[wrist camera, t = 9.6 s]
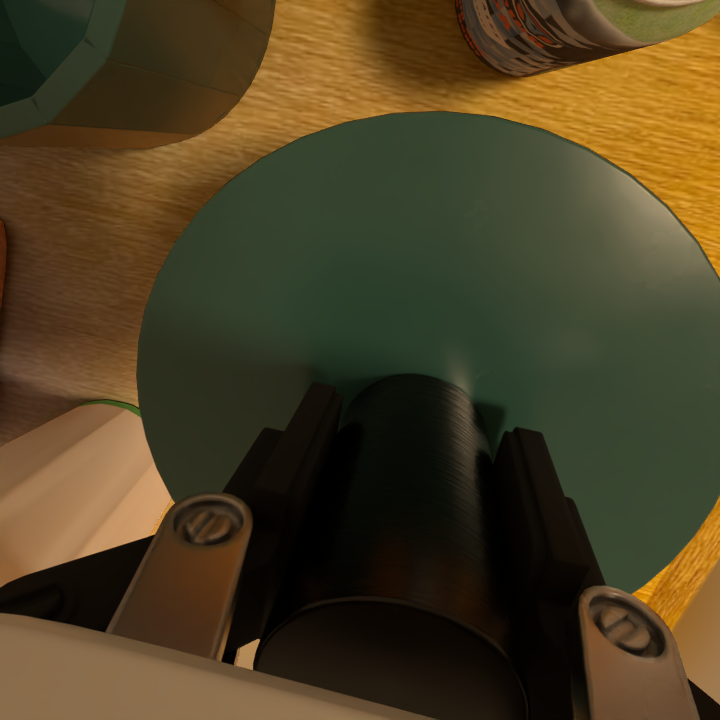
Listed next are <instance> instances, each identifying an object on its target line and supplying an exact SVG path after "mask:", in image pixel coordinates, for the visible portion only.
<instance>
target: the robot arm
mask: <svg viewBox="0 0 720 720" xmlns="http://www.w3.org/2000/svg"><path fill="white" fill-rule="evenodd" d="M343 398H344V394H340V393H336V386H332V385H327V384H323V383H318V382H314V381H313V382H312V383H311V385H310V387H309V389H308V390H307V392H306V394H305V396H304V397H303V399H302V401H301V403H300V405H299V406H298V408H297V410H296V412H295V413H294V415H293V417H292V419H291V420H290V422H289V424H288V426H287V427H286V429H285V431H281V430H276V429H272V428H268V427H265V428H264V429H263V430H262V431H261V433H260V434H259V436H258V437H257V439H256V440H255V442H254V443H253V445H252V446H251V448H250V449H249V451H248V453H247V454H246V456H245V457H244V459H243V460H242V462H241V463H240V465H239V466H238V468H237V470H236V471H235V473H234V474H233V476H232V477H231V479H230V480H229V482H228V483H227V485H226V486H225V488H224V490H223V491H222V492H203V493H197V494H193V495H190V496H188V497H185V498H183V499H181V500H180V501H178V502H177V503H175V504H174V505H173V506H172V507H171V508H170V509H169V511H168V512H167V513H166V515H165V516H164V518H163V520H162V522H161V524H160V526H159V528H158V530H157V532H156V534H155V535H152V536H149V537H146V538H142V539H139V540H136V541H133V542H130V543H126V544H123V545H120V546H117V547H114V548H111V549H107V550H104V551H101V552H98V553H95V554H91V555H88V556H85V557H82V558H79V559H75V560H72V561H69V562H66V563H63V564H59V565H56V566H53V567H50V568H47V569H44V570H40V571H37V572H34V573H31V574H28V575H25V576H22V577H20V578H18V579H15V580H13V581H10V582H8V583H6V584H5V585H3V586H2V587H0V720H438V719H434V718H430V717H426V716H423V715H419V714H415V713H412V712H408V711H404V710H400V709H397V708H393V707H389V706H386V705H382V704H378V703H374V702H371V701H367V700H363V699H359V698H356V697H352V696H348V695H344V694H341V693H337V692H333V691H330V690H326V689H322V688H318V687H314V686H311V685H307V684H303V683H299V682H295V681H292V680H288V679H284V678H280V677H276V676H273V675H269V674H265V673H261V672H257V671H254V670H250V669H246V668H242V667H238V666H236V665H237V661H238V657H239V650H240V647H242V646H244V645H246V644H248V643H250V642H252V641H254V640H256V639H261V637H262V634H263V631H264V629H265V626H266V623H267V621H268V618H269V615H270V613H271V610H272V607H273V605H274V602H275V599H276V596H277V594H278V591H279V588H280V586H281V583H282V580H283V578H284V575H285V572H286V570H287V567H288V564H289V562H290V559H291V557H292V554H293V552H294V549H295V546H296V544H297V541H298V538H299V536H300V533H301V530H302V527H303V525H304V522H305V519H306V517H307V514H308V511H309V509H310V506H311V503H312V501H313V498H314V495H315V493H316V490H317V487H318V485H319V482H320V479H321V477H322V474H323V471H324V468H325V466H326V463H327V460H328V458H329V455H330V452H331V450H332V447H333V444H334V442H335V439H336V436H337V432H338V427H339V421H340V415H341V410H342V404H343ZM492 466H493V472H494V478H495V484H496V491H497V497H498V503H499V509H500V515H501V522H502V528H503V534H504V540H505V546H506V553H507V559H508V565H509V571H510V578H511V584H512V590H513V596H514V602H515V609H516V615H517V621H518V627H519V633H520V640H521V646H522V652H523V658H524V664H525V671H526V677H527V683H528V689H529V696H530V708H531V713H530V720H720V705H719V704H718V703H717V702H715V701H714V700H713V699H712V698H711V697H710V696H708V695H707V694H706V693H705V692H704V691H702V690H701V689H700V688H699V687H698V686H696V685H695V684H694V683H693V682H691V681H690V680H689V679H688V678H687V676H686V673H685V670H684V667H683V664H682V660H681V658H680V654H679V651H678V648H677V644H676V641H675V639H674V637H673V635H672V633H671V631H670V629H669V627H668V626H667V625H666V624H665V622H664V621H663V620H662V619H661V617H660V616H659V615H658V614H657V613H656V612H655V611H653V610H652V609H651V608H650V607H649V606H648V605H647V604H645V603H644V602H642V601H641V600H639V599H638V598H636V597H635V596H633V595H631V594H629V593H626V592H624V591H622V590H620V589H616V588H612V587H608V586H606V583H605V580H604V578H603V575H602V573H601V570H600V567H599V565H598V562H597V559H596V557H595V554H594V551H593V549H592V546H591V543H590V541H589V538H588V536H587V533H586V530H585V528H584V525H583V522H582V520H581V517H580V514H579V512H578V509H577V506H576V504H575V502H574V500H573V499H571V498H570V497H565V495H564V493H563V490H562V487H561V484H560V481H559V478H558V476H557V473H556V470H555V467H554V464H553V462H552V459H551V456H550V453H549V450H548V447H547V445H546V442H545V439H544V436H543V434H542V432H538V431H533V430H529V429H524V428H520V427H515V428H514V429H513V431H512V432H509V431H505V432H504V434H503V436H502V438H501V441H500V444H499V447H498V450H497V453H496V456H495V459H494V462H493V465H492Z"/></svg>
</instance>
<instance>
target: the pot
mask: <svg viewBox="0 0 720 720" xmlns="http://www.w3.org/2000/svg"><path fill="white" fill-rule="evenodd" d="M275 1H276V0H0V146H6V147H97V148H153V147H157V146H160V145H166V144H171V143H176V142H181V141H183V140H186V139H189V138H192V137H194V136H197V135H199V134H201V133H202V132H204V131H206V130H207V129H209V128H211V127H212V126H214V125H215V124H216V123H217V122H219V121H220V120H221V119H222V118H224V117H225V116H226V115H227V114H228V113H229V112H230V111H231V110H232V109H233V108H234V107H235V105H236V104H237V103H238V102H239V101H240V99H241V98H242V96H243V95H244V94H245V92H246V91H247V89H248V88H249V86H250V85H251V83H252V81H253V79H254V77H255V75H256V73H257V71H258V69H259V67H260V64H261V62H262V59H263V57H264V54H265V51H266V49H267V45H268V41H269V37H270V33H271V29H272V24H273V17H274V9H275Z"/></svg>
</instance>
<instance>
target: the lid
mask: <svg viewBox="0 0 720 720" xmlns="http://www.w3.org/2000/svg"><path fill="white" fill-rule="evenodd" d="M136 377H137V389H138V401H139V410H140V415H141V419H142V424H143V428H144V433H145V437H146V441H147V443H148V446H149V449H150V452H151V455H152V457H153V460H154V463H155V466H156V469H157V471H158V473H159V475H160V477H161V479H162V481H163V483H164V485H165V487H166V488H167V490H168V492H169V494H170V496H171V498H172V499H173V501H174V502H175V503H177V502H178V501H180V500H181V499H183V498H185V497H188V496H190V495H193V494H197V493H203V492H222V491H223V490H224V488H225V486H226V485H227V483H228V482H229V480H230V479H231V477H232V476H233V474H234V473H235V471H236V470H237V468H238V466H239V465H240V463H241V462H242V460H243V459H244V457H245V456H246V454H247V453H248V451H249V449H250V448H251V446H252V445H253V443H254V442H255V440H256V439H257V437H258V436H259V434H260V433H261V431H262V430H263V429H264V428H265V427H268V428H272V429H276V430H281V431H285V429H286V427H287V426H288V424H289V422H290V420H291V419H292V417H293V415H294V413H295V412H296V410H297V408H298V406H299V405H300V403H301V401H302V399H303V397H304V396H305V394H306V392H307V390H308V389H309V387H310V385H311V383H312V382H313V381H314V382H318V383H323V384H327V385H332V386H336V393H340V394H344V398H343V404H342V410H341V415H340V421H339V427H338V432H337V436H336V439H335V442H334V444H333V447H332V450H331V452H330V455H329V458H328V460H327V463H326V466H325V468H324V471H323V474H322V477H321V479H320V482H319V485H318V487H317V490H316V493H315V495H314V498H313V501H312V503H311V506H310V509H309V511H308V514H307V517H306V519H305V522H304V525H303V527H302V530H301V533H300V536H299V538H298V541H297V544H296V546H295V549H294V552H293V554H292V557H291V559H290V562H289V564H288V567H287V570H286V572H285V575H284V578H283V580H282V583H281V586H280V588H279V591H278V594H277V596H276V599H275V602H274V605H273V607H272V610H271V613H270V615H269V618H268V621H267V623H266V626H265V629H264V631H263V634H262V637H261V639H260V642H259V645H258V647H257V650H256V653H255V658H254V662H253V670H254V671H257V672H261V673H265V674H269V675H273V676H276V677H280V678H284V679H288V680H292V681H295V682H299V683H303V684H307V685H311V686H314V687H318V688H322V689H326V690H330V691H333V692H337V693H341V694H344V695H348V696H352V697H356V698H359V699H363V700H367V701H371V702H374V703H378V704H382V705H386V706H389V707H393V708H397V709H400V710H404V711H408V712H412V713H415V714H419V715H423V716H426V717H430V718H434V719H438V720H530V713H531V708H530V696H529V689H528V683H527V677H526V671H525V664H524V658H523V652H522V646H521V640H520V633H519V627H518V621H517V615H516V609H515V602H514V596H513V590H512V584H511V578H510V571H509V565H508V559H507V553H506V546H505V540H504V534H503V528H502V522H501V515H500V509H499V503H498V497H497V491H496V484H495V478H494V472H493V466H492V465H493V462H494V459H495V456H496V453H497V450H498V447H499V444H500V441H501V438H502V436H503V434H504V432H505V431H509V432H512V431H513V429H514V428H515V427H520V428H524V429H529V430H533V431H538V432H542V434H543V436H544V439H545V442H546V445H547V447H548V450H549V453H550V456H551V459H552V462H553V464H554V467H555V470H556V473H557V476H558V478H559V481H560V484H561V487H562V490H563V493H564V495H565V497H570V498H571V499H573V500H574V502H575V504H576V506H577V509H578V512H579V514H580V517H581V520H582V522H583V525H584V528H585V530H586V533H587V536H588V538H589V541H590V543H591V546H592V549H593V551H594V554H595V557H596V559H597V562H598V565H599V567H600V570H601V573H602V575H603V578H604V580H605V583H606V586H608V587H612V588H616V589H620V590H622V591H624V592H626V593H629V594H632V593H634V592H635V591H637V590H638V589H640V588H641V587H643V586H644V585H645V584H647V583H648V582H649V581H650V580H651V579H652V578H654V577H655V576H656V575H657V574H658V573H659V572H661V571H662V570H663V569H664V568H665V567H666V566H668V565H669V564H670V563H671V562H672V561H673V560H674V558H675V557H676V556H677V555H678V554H679V553H680V552H681V551H682V550H683V548H684V547H685V546H686V545H687V544H688V543H689V542H690V541H691V540H692V538H693V537H694V536H695V534H696V533H697V532H698V530H699V529H700V527H701V526H702V524H703V523H704V521H705V520H706V518H707V517H708V515H709V514H710V512H711V511H712V509H713V508H714V506H715V504H716V502H717V500H718V498H719V496H720V277H719V276H718V274H717V272H716V271H715V269H714V267H713V266H712V264H711V262H710V261H709V259H708V257H707V256H706V254H705V252H704V251H703V249H702V247H701V246H700V244H699V242H698V241H697V239H696V238H695V237H694V236H693V235H692V234H691V232H690V231H689V230H688V229H687V228H686V226H685V225H684V224H683V223H682V222H681V221H680V219H679V218H678V217H677V216H676V215H675V214H674V212H673V211H672V210H671V209H670V208H669V206H668V205H667V204H665V203H664V202H663V201H662V200H661V199H660V198H658V197H657V196H656V195H655V194H654V193H653V192H651V191H650V190H649V189H648V188H647V187H646V186H644V185H643V184H642V183H641V182H640V181H638V180H637V179H636V178H635V177H634V176H633V175H631V174H630V173H628V172H627V171H625V170H624V169H622V168H620V167H619V166H617V165H615V164H614V163H612V162H610V161H609V160H607V159H606V158H604V157H602V156H601V155H599V154H597V153H596V152H594V151H593V150H591V149H589V148H587V147H585V146H582V145H580V144H578V143H575V142H573V141H571V140H568V139H566V138H563V137H561V136H559V135H556V134H554V133H552V132H549V131H547V130H544V129H542V128H538V127H534V126H530V125H526V124H522V123H518V122H514V121H510V120H507V119H503V118H499V117H495V116H487V115H478V114H468V113H459V112H449V111H428V112H404V113H390V114H385V115H380V116H374V117H369V118H364V119H359V120H353V121H348V122H344V123H341V124H338V125H335V126H332V127H330V128H327V129H324V130H321V131H318V132H315V133H312V134H309V135H306V136H303V137H301V138H299V139H297V140H295V141H293V142H291V143H289V144H287V145H285V146H283V147H282V148H280V149H278V150H276V151H274V152H272V153H270V154H268V155H266V156H264V157H262V158H261V159H259V160H258V161H257V162H255V163H254V164H252V165H251V166H250V167H248V168H247V169H246V170H244V171H243V172H241V173H240V174H239V175H237V176H236V177H234V178H233V179H232V180H230V181H229V182H228V183H226V184H225V185H224V186H223V187H222V188H221V189H220V190H219V191H218V192H217V193H216V194H215V195H214V196H213V197H212V198H211V199H210V200H209V201H208V202H207V203H206V204H205V205H204V206H203V207H202V208H201V209H200V210H199V211H198V212H197V213H196V215H195V216H194V217H193V219H192V220H191V221H190V223H189V224H188V225H187V227H186V228H185V229H184V231H183V232H182V233H181V235H180V236H179V237H178V239H177V240H176V241H175V243H174V245H173V247H172V248H171V250H170V252H169V254H168V256H167V258H166V260H165V261H164V263H163V265H162V267H161V269H160V271H159V273H158V274H157V277H156V280H155V283H154V285H153V288H152V291H151V294H150V296H149V299H148V302H147V305H146V308H145V311H144V316H143V321H142V326H141V331H140V336H139V341H138V355H137V374H136Z"/></svg>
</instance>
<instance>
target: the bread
mask: <svg viewBox="0 0 720 720" xmlns="http://www.w3.org/2000/svg"><path fill="white" fill-rule="evenodd" d="M6 242H7V241H6V235H5V230H4V224H3V222H2V221H0V311H1V303H2V294H3V285H4V276H5V267H6Z"/></svg>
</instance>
